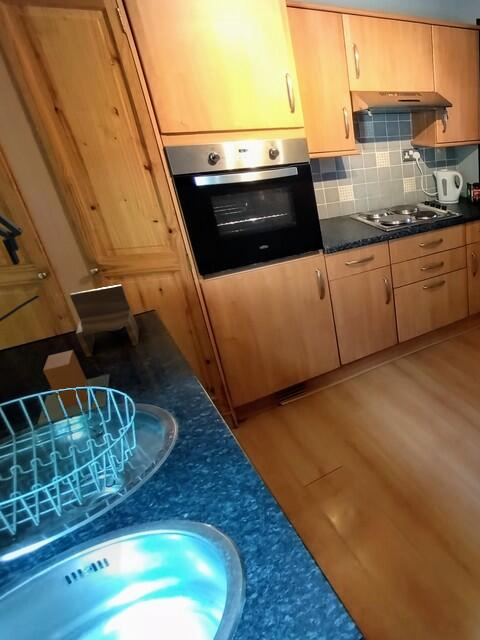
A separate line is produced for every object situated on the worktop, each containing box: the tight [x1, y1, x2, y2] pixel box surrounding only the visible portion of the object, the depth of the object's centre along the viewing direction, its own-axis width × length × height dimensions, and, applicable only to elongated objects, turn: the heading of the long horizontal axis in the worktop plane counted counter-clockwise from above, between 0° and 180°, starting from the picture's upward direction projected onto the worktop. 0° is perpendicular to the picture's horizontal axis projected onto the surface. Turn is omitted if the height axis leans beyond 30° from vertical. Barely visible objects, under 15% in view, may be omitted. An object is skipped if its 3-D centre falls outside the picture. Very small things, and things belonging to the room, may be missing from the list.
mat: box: [37, 374, 110, 426], centre depth 113 cm, size 16×12×1 cm
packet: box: [42, 349, 89, 407], centre depth 111 cm, size 8×4×11 cm, turn 37°
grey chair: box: [69, 283, 139, 358], centre depth 136 cm, size 12×12×16 cm
